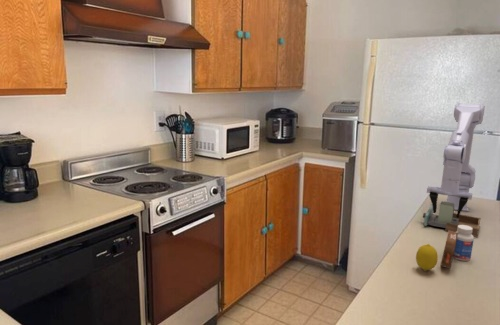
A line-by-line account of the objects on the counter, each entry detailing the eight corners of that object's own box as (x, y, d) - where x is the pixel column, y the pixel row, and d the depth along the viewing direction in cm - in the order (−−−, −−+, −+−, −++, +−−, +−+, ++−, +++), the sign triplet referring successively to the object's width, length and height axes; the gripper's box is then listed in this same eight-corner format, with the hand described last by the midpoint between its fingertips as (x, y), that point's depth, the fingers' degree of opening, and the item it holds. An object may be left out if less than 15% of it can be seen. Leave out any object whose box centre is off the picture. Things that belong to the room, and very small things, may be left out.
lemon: (411, 270, 111) (414, 244, 109) (419, 264, 115) (422, 238, 113) (431, 277, 107) (434, 250, 105) (438, 270, 111) (442, 244, 109)
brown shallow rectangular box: (449, 220, 150) (450, 212, 150) (479, 226, 145) (480, 218, 144) (444, 231, 140) (446, 223, 139) (477, 237, 134) (478, 229, 134)
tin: (444, 250, 124) (447, 225, 122) (455, 252, 122) (458, 227, 120) (439, 271, 111) (442, 243, 109) (451, 273, 109) (455, 246, 108)
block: (439, 219, 147) (441, 201, 145) (452, 221, 145) (454, 203, 143) (437, 222, 143) (440, 204, 142) (450, 225, 141) (453, 206, 139)
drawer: (427, 213, 155) (428, 203, 154) (459, 219, 149) (460, 209, 148) (420, 224, 143) (421, 214, 142) (455, 232, 137) (456, 221, 136)
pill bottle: (462, 262, 116) (466, 232, 114) (446, 255, 121) (450, 225, 119) (474, 259, 119) (479, 229, 116) (458, 251, 123) (462, 222, 121)
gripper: (427, 177, 141) (422, 213, 144) (473, 184, 133) (467, 222, 136) (430, 173, 146) (426, 208, 150) (474, 180, 139) (469, 216, 142)
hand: (446, 214), depth 143 cm, fingers open, 7 cm apart
